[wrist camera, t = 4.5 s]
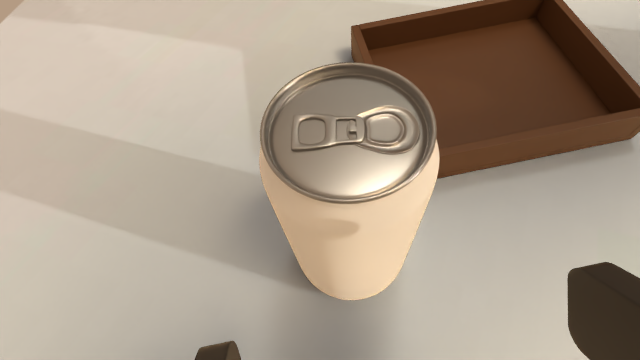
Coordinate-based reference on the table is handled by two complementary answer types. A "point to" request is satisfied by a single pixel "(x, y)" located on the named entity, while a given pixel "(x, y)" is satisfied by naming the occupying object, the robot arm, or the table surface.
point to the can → (349, 173)
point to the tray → (506, 80)
